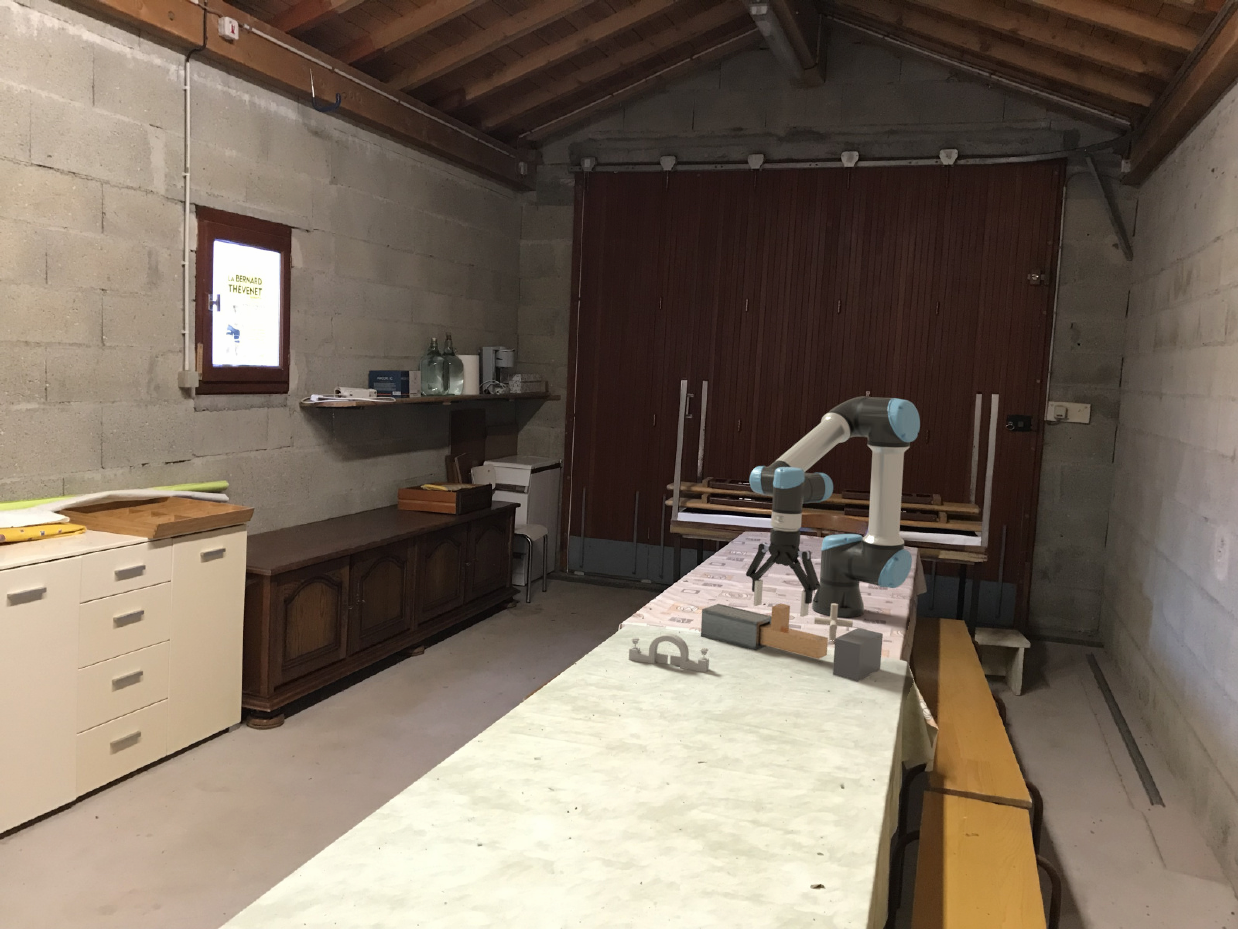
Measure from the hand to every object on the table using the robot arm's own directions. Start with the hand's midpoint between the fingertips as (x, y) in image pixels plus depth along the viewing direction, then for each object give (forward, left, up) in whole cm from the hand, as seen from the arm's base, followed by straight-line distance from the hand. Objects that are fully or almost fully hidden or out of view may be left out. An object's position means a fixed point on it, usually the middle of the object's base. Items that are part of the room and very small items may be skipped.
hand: (780, 610), depth 244 cm
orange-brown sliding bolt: (0, -2, -9) cm, 10 cm away
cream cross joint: (-19, +6, -11) cm, 23 cm away
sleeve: (0, -13, -11) cm, 17 cm away
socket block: (0, +22, -11) cm, 24 cm away
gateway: (+28, -14, -12) cm, 33 cm away
